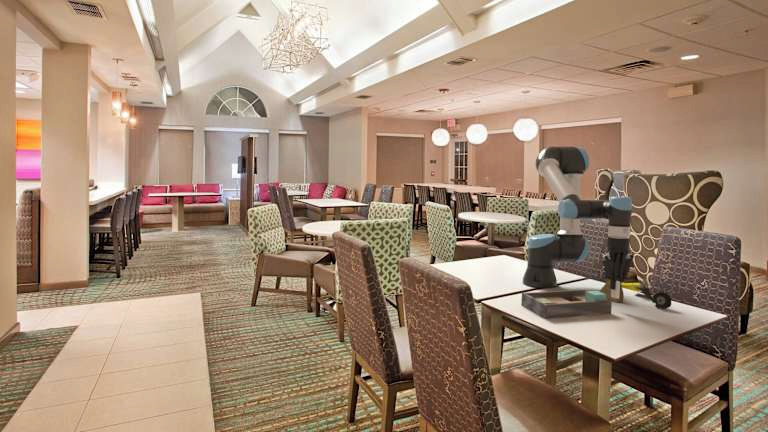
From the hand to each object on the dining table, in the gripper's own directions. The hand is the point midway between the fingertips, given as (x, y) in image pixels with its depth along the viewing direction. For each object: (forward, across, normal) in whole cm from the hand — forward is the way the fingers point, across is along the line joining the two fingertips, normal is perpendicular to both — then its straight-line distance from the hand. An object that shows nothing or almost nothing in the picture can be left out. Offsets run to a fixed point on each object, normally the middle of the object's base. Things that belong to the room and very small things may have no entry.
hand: (615, 297), depth 174 cm
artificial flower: (+5, +23, +8) cm, 25 cm away
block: (+2, -8, 0) cm, 9 cm away
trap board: (+5, -18, +4) cm, 19 cm away
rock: (+5, +9, +13) cm, 16 cm away
